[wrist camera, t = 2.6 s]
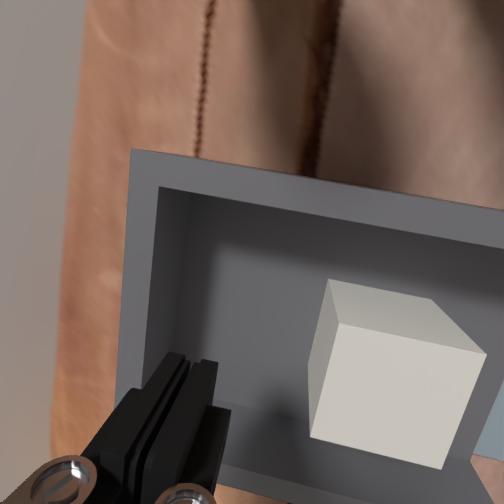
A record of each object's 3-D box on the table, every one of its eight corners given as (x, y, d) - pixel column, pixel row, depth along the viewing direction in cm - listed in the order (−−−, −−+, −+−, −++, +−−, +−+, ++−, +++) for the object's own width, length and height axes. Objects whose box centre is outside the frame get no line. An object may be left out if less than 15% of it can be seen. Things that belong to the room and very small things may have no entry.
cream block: (431, 299, 16) (486, 354, 11) (402, 386, 17) (441, 469, 12) (328, 278, 16) (338, 323, 12) (307, 364, 18) (309, 436, 13)
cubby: (736, 250, 14) (928, 284, 10) (592, 503, 18) (685, 609, 14) (175, 153, 17) (131, 148, 12) (151, 394, 20) (111, 454, 16)
